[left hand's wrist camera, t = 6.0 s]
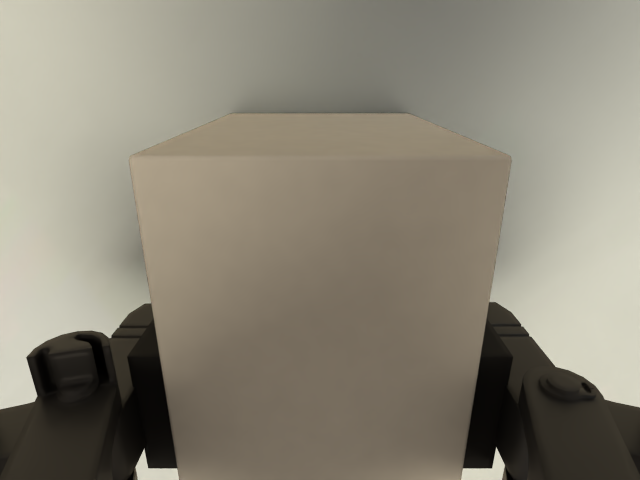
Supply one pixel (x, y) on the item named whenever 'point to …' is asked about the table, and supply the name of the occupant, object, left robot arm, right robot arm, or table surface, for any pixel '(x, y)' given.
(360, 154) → the beam
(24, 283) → the table surface
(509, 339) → the left robot arm
